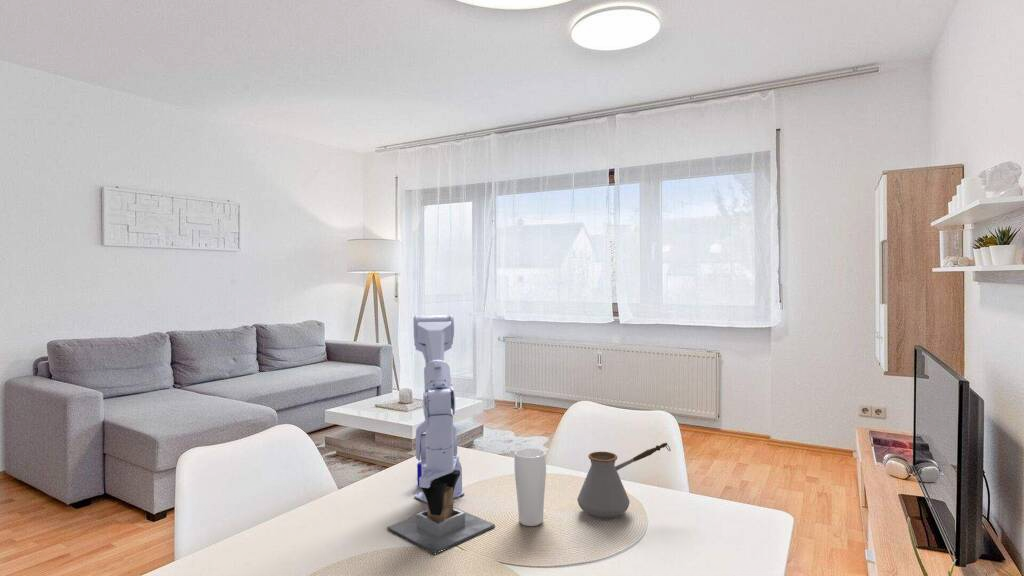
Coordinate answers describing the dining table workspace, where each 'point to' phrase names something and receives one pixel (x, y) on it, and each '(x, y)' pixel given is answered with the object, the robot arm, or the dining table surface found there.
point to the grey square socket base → (440, 530)
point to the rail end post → (444, 506)
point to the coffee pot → (607, 486)
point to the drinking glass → (530, 485)
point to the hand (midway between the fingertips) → (440, 509)
